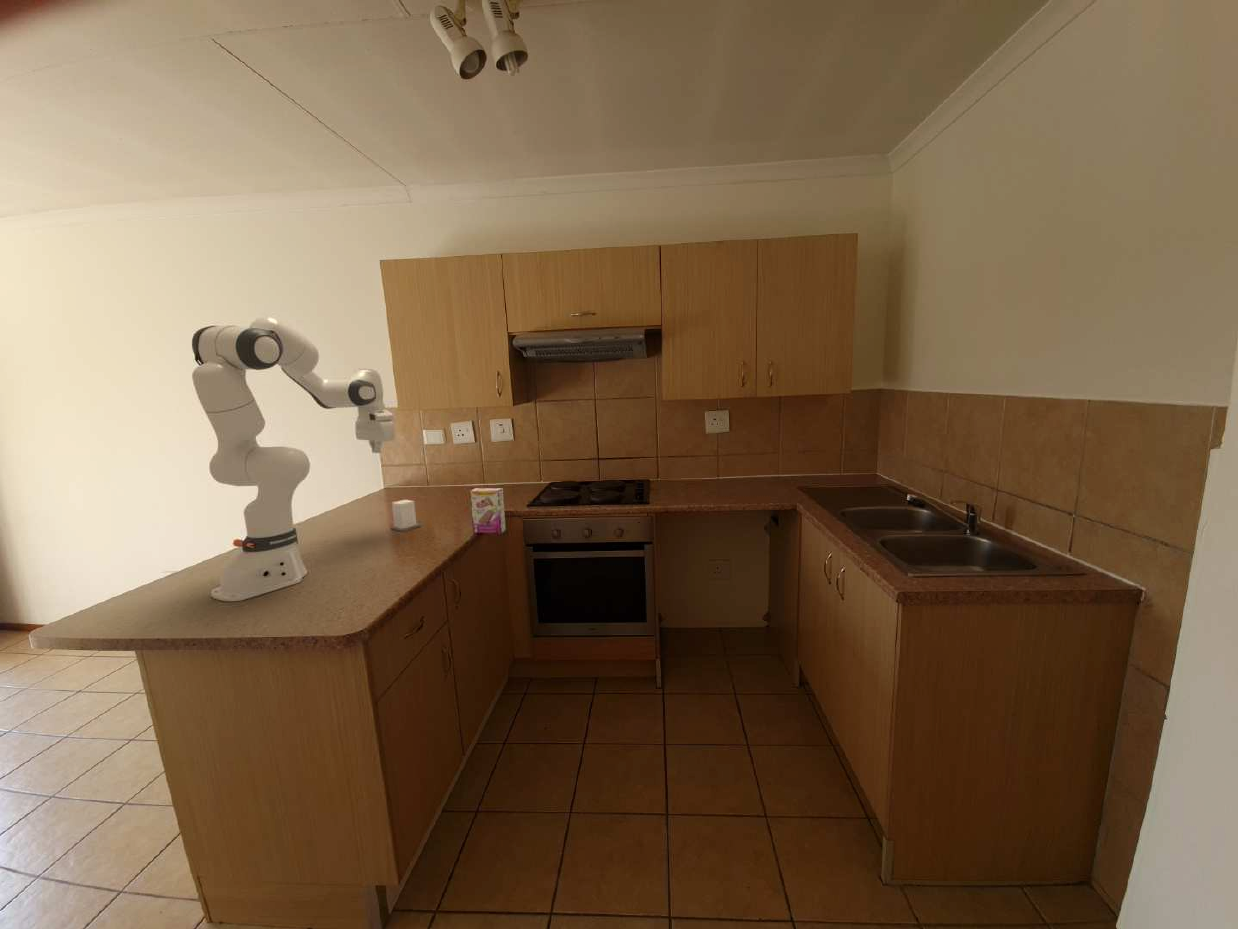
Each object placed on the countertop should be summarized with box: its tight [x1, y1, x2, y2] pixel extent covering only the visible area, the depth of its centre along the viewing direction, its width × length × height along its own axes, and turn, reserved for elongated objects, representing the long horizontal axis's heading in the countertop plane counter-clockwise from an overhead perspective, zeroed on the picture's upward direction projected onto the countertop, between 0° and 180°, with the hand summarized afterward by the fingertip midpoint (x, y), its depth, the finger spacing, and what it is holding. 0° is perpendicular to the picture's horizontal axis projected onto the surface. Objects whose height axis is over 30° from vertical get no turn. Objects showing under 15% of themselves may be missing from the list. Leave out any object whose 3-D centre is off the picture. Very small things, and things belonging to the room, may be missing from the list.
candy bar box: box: [469, 487, 507, 535], centre depth 180 cm, size 11×5×16 cm, turn 84°
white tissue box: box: [391, 499, 418, 529], centre depth 189 cm, size 6×6×10 cm
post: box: [389, 523, 422, 533], centre depth 190 cm, size 8×8×8 cm
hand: (376, 452), depth 177 cm, fingers closed
